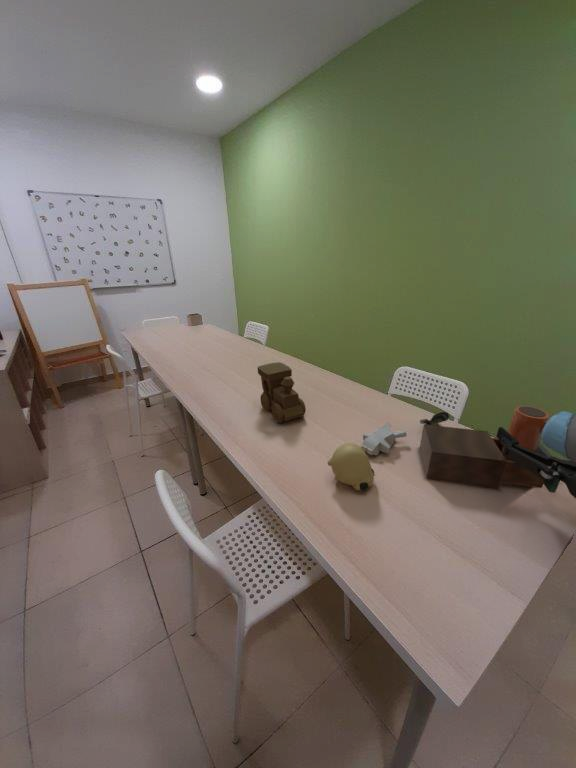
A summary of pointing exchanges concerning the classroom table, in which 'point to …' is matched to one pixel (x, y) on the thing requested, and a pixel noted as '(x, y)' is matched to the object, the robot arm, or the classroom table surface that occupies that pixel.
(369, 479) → the tan rounded lump
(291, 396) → the wooden toy train
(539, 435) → the pencil holder
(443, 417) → the eagle figurine
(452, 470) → the cabinet
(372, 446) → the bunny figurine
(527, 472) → the drawer
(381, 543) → the classroom table surface
